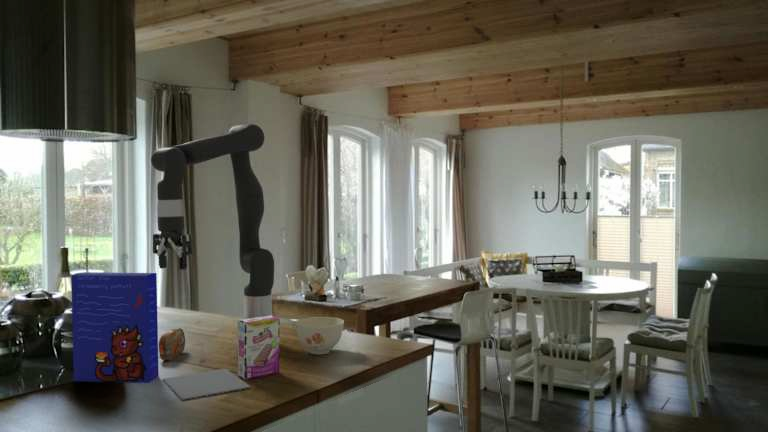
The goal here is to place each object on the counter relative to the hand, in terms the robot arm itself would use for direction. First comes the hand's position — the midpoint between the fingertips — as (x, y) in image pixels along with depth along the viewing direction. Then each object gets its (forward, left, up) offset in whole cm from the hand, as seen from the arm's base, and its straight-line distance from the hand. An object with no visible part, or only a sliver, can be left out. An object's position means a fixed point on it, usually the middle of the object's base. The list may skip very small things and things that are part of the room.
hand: (172, 268), depth 186 cm
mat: (-3, +23, -30) cm, 37 cm away
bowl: (-44, +10, -30) cm, 54 cm away
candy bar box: (-18, +23, -30) cm, 42 cm away
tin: (-2, -11, -30) cm, 32 cm away
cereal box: (+17, +4, -30) cm, 35 cm away
